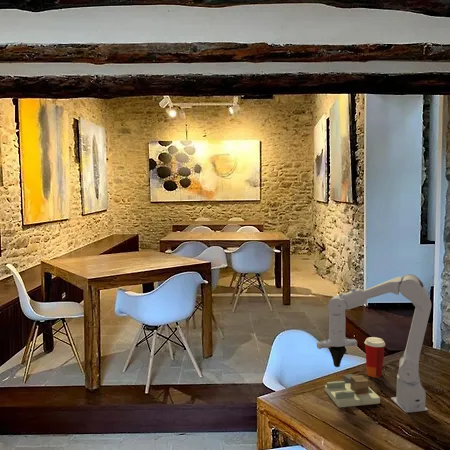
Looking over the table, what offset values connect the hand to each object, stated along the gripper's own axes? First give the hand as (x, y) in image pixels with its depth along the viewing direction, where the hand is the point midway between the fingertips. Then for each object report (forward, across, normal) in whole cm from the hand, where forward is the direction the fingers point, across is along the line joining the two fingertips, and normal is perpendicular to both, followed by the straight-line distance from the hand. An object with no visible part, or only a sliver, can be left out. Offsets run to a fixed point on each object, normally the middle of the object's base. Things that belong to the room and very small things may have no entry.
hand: (336, 366), depth 157 cm
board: (+9, -4, +5) cm, 11 cm away
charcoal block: (+10, -7, -3) cm, 12 cm away
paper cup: (+10, -20, -10) cm, 24 cm away
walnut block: (+7, -6, +5) cm, 11 cm away
